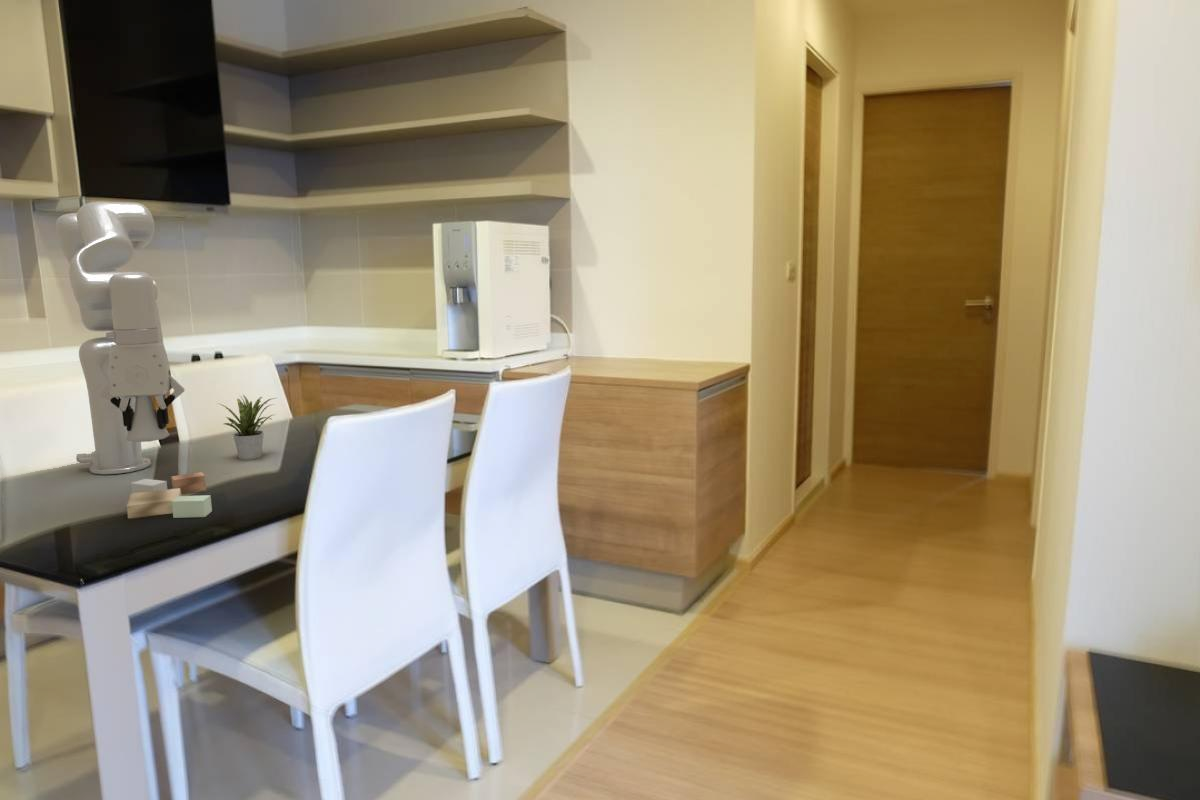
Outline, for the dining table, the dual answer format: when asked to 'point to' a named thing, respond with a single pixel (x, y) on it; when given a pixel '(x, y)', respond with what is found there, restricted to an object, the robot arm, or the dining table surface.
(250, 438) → the house plant
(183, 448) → the dining table surface
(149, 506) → the oak block
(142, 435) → the flask
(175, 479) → the cherry brick
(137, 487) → the grey brick
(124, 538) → the dining table surface
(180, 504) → the sage brick
